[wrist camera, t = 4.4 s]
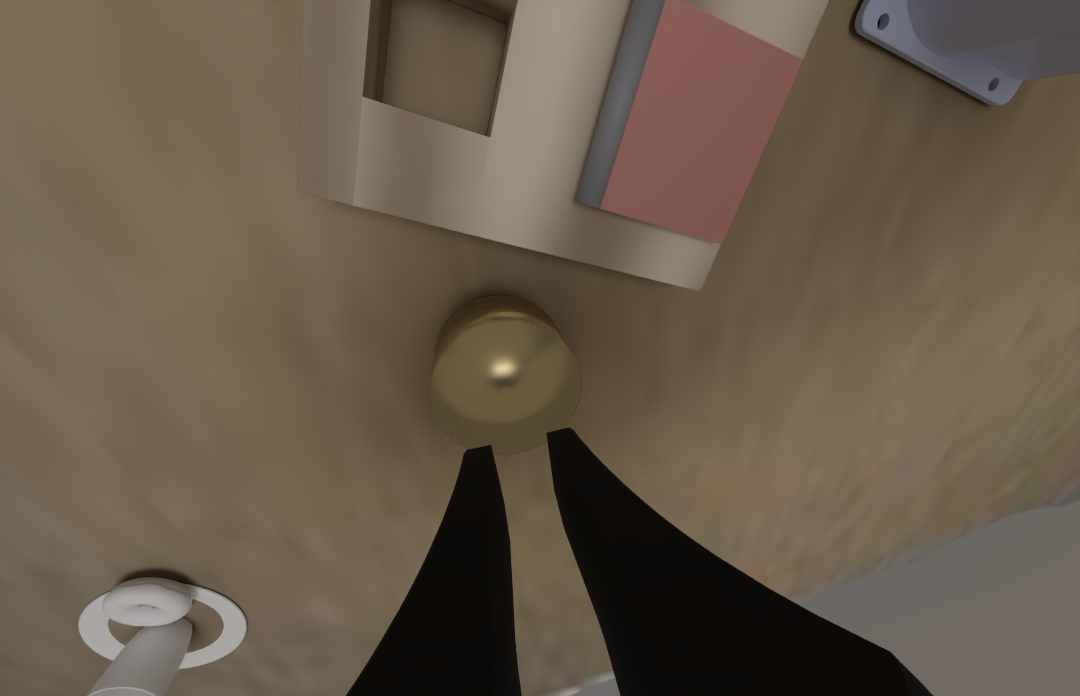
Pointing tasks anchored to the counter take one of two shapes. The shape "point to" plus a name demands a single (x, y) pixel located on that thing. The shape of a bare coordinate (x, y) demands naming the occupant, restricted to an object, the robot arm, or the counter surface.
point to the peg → (503, 376)
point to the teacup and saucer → (154, 634)
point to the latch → (684, 119)
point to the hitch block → (501, 129)
